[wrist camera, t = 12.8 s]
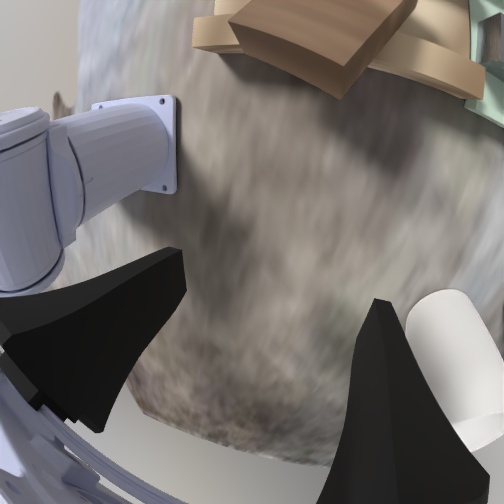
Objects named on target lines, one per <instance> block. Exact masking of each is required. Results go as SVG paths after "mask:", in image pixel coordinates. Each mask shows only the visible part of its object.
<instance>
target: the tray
mask: <svg viewBox="0 0 504 504" xmlns="http://www.w3.org/2000/svg"><path fill="white" fill-rule="evenodd" d="M467 1H468V12H469V31H470V54H469V59H470V60H472V61H474V62H475V61H476V49H477V24H478V22H480V21H482V20H484V19H486V18H488V17H491V16H493V15H495V14H497V13H499V12H501V13H503V14H504V0H467ZM464 108H466V109H468V110H470V111H472V112H474V113H476V114H478V115H480V116H482V117H484V118H486V119H488V120H490V121H491V122H493V123H495V124H497V125H499V126H500V127H502V128H504V82H502V81H501V80H499V79H498V78H496V77H495V76H493V75H492V74H490V73H489V72H487V71H485V85H484V96H483V100H475V99H465V105H464Z"/></svg>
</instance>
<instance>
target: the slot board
mask: <svg viewBox="0 0 504 504" xmlns="http://www.w3.org/2000/svg"><path fill="white" fill-rule="evenodd" d="M250 1H251V0H215V9H214V15H213V16H205V17H197V18H194V25H193V37H192V47H193V48H197V49H201V50H205V51H209V52H213V53H217V54H222V53H244V52H243V50H242V48H241V46H240V44H239V42H238V40H237V38H236V36H235V34H234V32H233V30H232V29H231V27H230V25H229V23H228V20H229V19H230V18H231V17H232V16H234V15H235V14H236V13H237V12H238V11H239V10H240V9H242V8H243V7H244V6H245V5H246V4H247V3H249V2H250ZM469 54H470V31H469V12H468V1H467V0H418V2H417V5H416V8H415V10H414V11H413V12H412V13H411V14H410V15H409V17H408V18H407V19H406V20H405V21H404V23H403V24H402V25H401V26H400V27H399V29H398V30H397V31H396V32H395V33H394V35H393V36H392V37H391V38H390V40H389V41H388V42H387V43H386V44H385V46H384V47H383V48H382V49H381V51H380V52H379V53H378V54H377V55H376V57H375V58H374V59H373V60H372V62H371V63H370V64H369V65H368V68H372V69H377V70H380V71H384V72H388V73H391V74H395V75H398V76H402V77H405V78H408V79H411V80H414V81H417V82H420V83H423V84H425V85H428V86H431V87H434V88H436V89H439V90H441V91H444V92H446V93H448V94H451V95H453V96H455V97H458V98H460V99H475V100H483V96H484V85H485V71H486V68H485V67H483V66H482V65H480V64H478V63H476V62H474V61H472V60H470V59H469Z"/></svg>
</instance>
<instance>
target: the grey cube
mask: <svg viewBox="0 0 504 504" xmlns="http://www.w3.org/2000/svg"><path fill="white" fill-rule="evenodd" d="M475 62H476V63H478V64H480V65H482V66H483V67H485V68H486V71H487V72H489V73H490V74H492V75H493V76H495V77H496V78H498V79H499V80H501V81H502V82H504V14H503V13H501V12H499V13H497V14H495V15H493V16H491V17H488V18H486V19H484V20H482V21H480V22H478V24H477V49H476V61H475Z"/></svg>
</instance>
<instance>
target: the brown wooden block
mask: <svg viewBox="0 0 504 504" xmlns="http://www.w3.org/2000/svg"><path fill="white" fill-rule="evenodd" d="M417 2H418V0H251V1H250V2H249V3H247V4H246V5H245V6H244V7H243V8H242V9H240V10H239V11H238V12H237V13H236V14H235V15H234V16H232V17H231V18H230V19H229V20H228V23H229V25H230V27H231V29H232V30H233V32H234V34H235V36H236V38H237V40H238V42H239V44H240V46H241V48H242V50H243V52H244V54H246V55H249V56H251V57H254V58H256V59H259V60H261V61H264V62H266V63H268V64H271V65H273V66H275V67H277V68H280V69H282V70H284V71H286V72H288V73H290V74H292V75H294V76H297V77H299V78H301V79H303V80H304V81H306V82H308V83H310V84H312V85H314V86H316V87H318V88H320V89H321V90H323V91H325V92H327V93H329V94H330V95H332V96H334V97H336V98H337V99H339V100H341V99H342V98H343V97H344V96H345V94H346V93H347V92H348V91H349V89H350V88H351V87H352V85H353V84H354V83H355V82H356V80H357V79H358V78H359V77H360V75H361V74H362V73H363V72H364V70H365V69H366V68H367V67H368V65H369V64H370V63H371V62H372V60H373V59H374V58H375V57H376V55H377V54H378V53H379V52H380V51H381V49H382V48H383V47H384V46H385V44H386V43H387V42H388V41H389V40H390V38H391V37H392V36H393V35H394V33H395V32H396V31H397V30H398V29H399V27H400V26H401V25H402V24H403V23H404V21H405V20H406V19H407V18H408V17H409V15H410V14H411V13H412V12H413V11H414V10H415V8H416V5H417Z"/></svg>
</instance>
